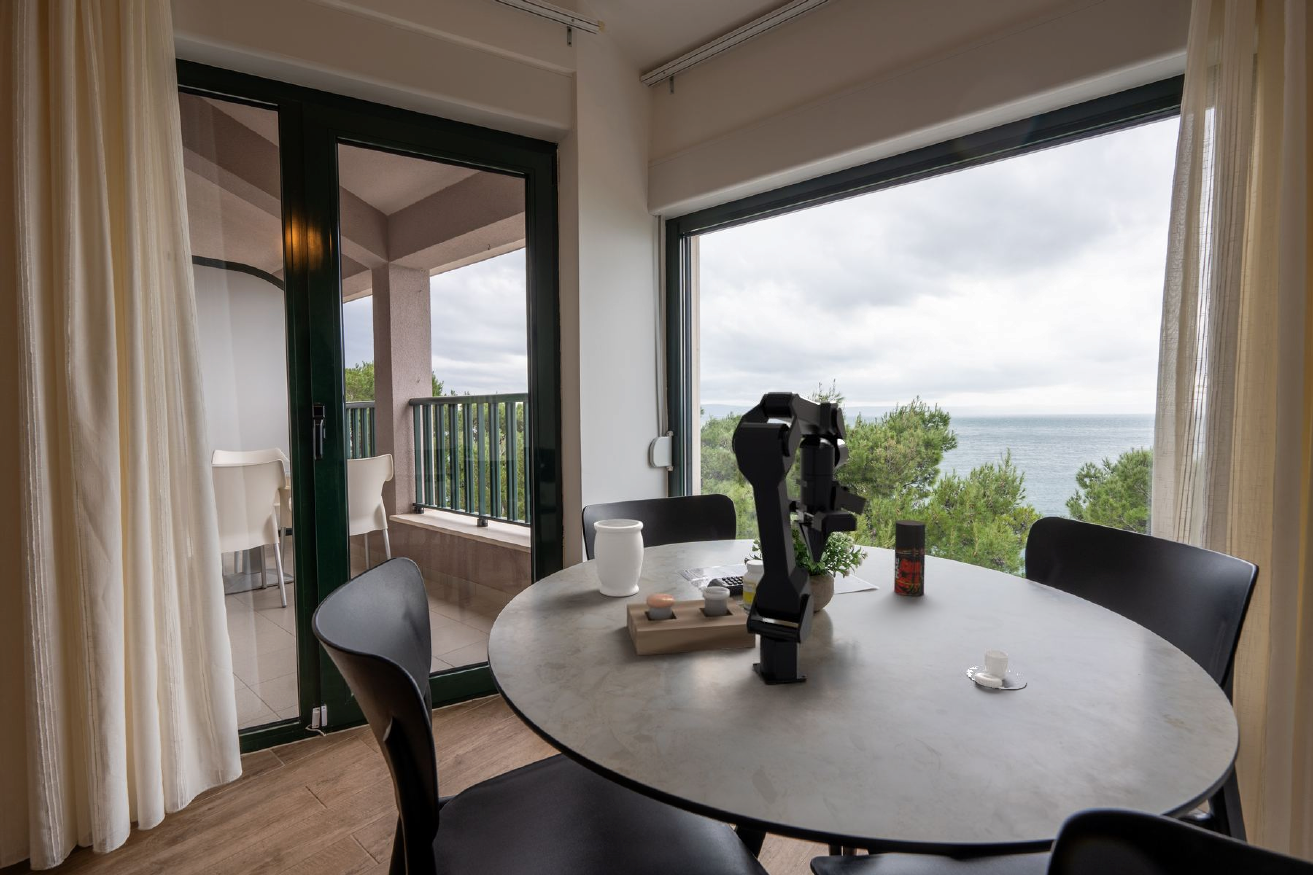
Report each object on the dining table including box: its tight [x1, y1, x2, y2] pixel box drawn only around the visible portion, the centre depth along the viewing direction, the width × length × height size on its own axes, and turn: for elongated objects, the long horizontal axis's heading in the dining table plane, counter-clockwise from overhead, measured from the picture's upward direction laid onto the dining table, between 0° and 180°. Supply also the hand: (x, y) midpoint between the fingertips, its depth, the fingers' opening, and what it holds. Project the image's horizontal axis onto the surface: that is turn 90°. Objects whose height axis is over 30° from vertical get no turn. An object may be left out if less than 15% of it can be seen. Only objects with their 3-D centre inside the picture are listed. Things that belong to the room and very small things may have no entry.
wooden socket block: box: [626, 597, 757, 656], centre depth 114 cm, size 14×20×4 cm
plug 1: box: [645, 593, 675, 621], centre depth 113 cm, size 5×5×4 cm
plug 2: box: [701, 586, 731, 617], centre depth 114 cm, size 5×5×4 cm
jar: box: [593, 518, 644, 598], centre depth 139 cm, size 11×10×15 cm
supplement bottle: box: [742, 559, 764, 615], centre depth 126 cm, size 5×5×10 cm
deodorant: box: [893, 519, 926, 597], centre depth 138 cm, size 6×6×15 cm
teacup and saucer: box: [966, 649, 1018, 689], centre depth 96 cm, size 9×8×4 cm
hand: (816, 562), depth 113 cm, fingers closed
